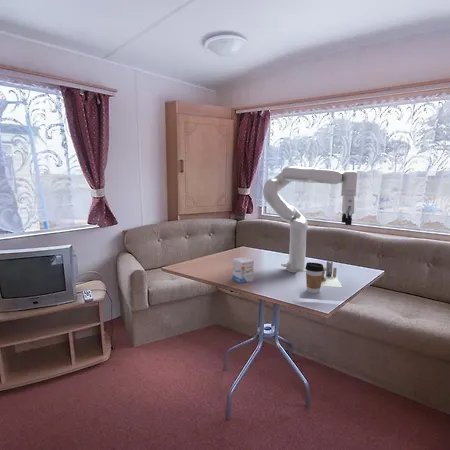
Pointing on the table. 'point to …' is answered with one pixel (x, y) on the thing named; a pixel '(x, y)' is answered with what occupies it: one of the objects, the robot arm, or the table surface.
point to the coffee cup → (314, 277)
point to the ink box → (243, 269)
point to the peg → (329, 268)
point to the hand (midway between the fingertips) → (346, 223)
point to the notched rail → (333, 271)
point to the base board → (331, 282)
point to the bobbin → (323, 275)
